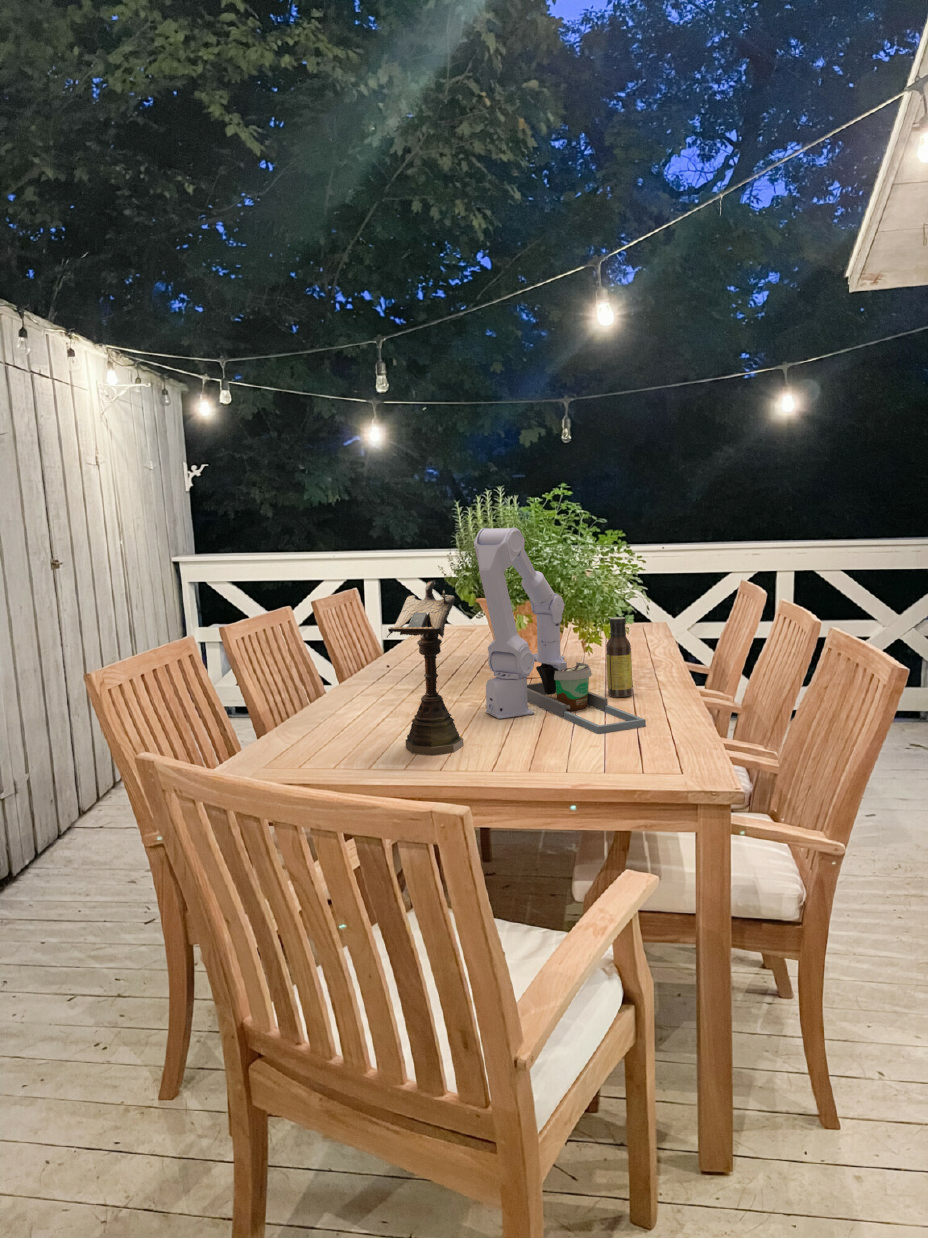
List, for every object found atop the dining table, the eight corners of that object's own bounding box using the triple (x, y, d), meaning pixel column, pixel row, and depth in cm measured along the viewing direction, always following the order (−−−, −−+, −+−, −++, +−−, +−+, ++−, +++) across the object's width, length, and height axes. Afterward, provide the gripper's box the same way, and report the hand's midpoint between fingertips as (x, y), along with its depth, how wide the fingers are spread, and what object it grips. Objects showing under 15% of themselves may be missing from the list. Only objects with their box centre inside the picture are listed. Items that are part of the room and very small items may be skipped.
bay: (598, 734, 177) (597, 727, 177) (563, 718, 191) (563, 712, 191) (645, 726, 181) (645, 719, 181) (608, 711, 195) (608, 705, 195)
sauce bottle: (637, 695, 210) (636, 617, 207) (619, 699, 206) (618, 620, 204) (619, 691, 215) (618, 615, 212) (601, 695, 212) (600, 617, 209)
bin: (562, 717, 191) (562, 705, 191) (517, 697, 213) (517, 685, 213) (607, 711, 196) (607, 698, 195) (558, 691, 218) (558, 680, 217)
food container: (578, 715, 193) (577, 673, 191) (554, 712, 196) (553, 671, 195) (600, 703, 203) (600, 663, 201) (578, 701, 206) (577, 661, 205)
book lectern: (446, 765, 160) (438, 584, 155) (386, 759, 165) (376, 584, 160) (478, 741, 175) (471, 576, 170) (422, 737, 180) (414, 576, 175)
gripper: (577, 643, 202) (578, 697, 204) (549, 635, 215) (550, 686, 217) (551, 646, 200) (553, 701, 201) (524, 638, 213) (526, 689, 215)
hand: (550, 693), depth 209 cm, fingers closed
